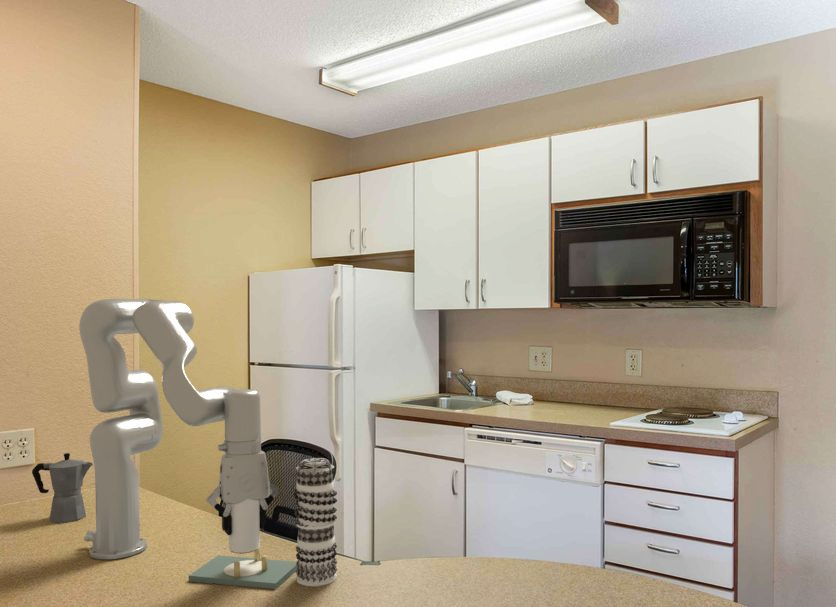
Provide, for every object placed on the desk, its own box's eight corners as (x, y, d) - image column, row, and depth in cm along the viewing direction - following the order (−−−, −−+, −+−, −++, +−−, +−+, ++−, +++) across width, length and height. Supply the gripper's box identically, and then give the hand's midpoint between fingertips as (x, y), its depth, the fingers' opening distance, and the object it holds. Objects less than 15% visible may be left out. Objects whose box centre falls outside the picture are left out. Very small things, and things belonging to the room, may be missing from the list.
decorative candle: (286, 584, 144) (284, 463, 144) (308, 567, 153) (306, 454, 153) (325, 589, 141) (323, 466, 141) (345, 572, 150) (343, 456, 149)
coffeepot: (97, 511, 198) (96, 448, 198) (89, 521, 189) (88, 455, 189) (38, 515, 194) (37, 451, 194) (27, 526, 185) (26, 458, 185)
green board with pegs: (188, 581, 146) (188, 561, 146) (218, 560, 158) (218, 542, 158) (275, 589, 141) (275, 568, 141) (299, 567, 153) (299, 548, 153)
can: (252, 555, 146) (251, 498, 146) (223, 553, 147) (222, 496, 147) (264, 544, 152) (264, 489, 152) (237, 542, 153) (236, 488, 153)
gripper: (206, 455, 142) (208, 543, 142) (287, 445, 151) (288, 527, 151) (197, 449, 148) (199, 532, 148) (275, 439, 157) (277, 518, 157)
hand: (244, 529), depth 150 cm, fingers closed on can, 6 cm apart
